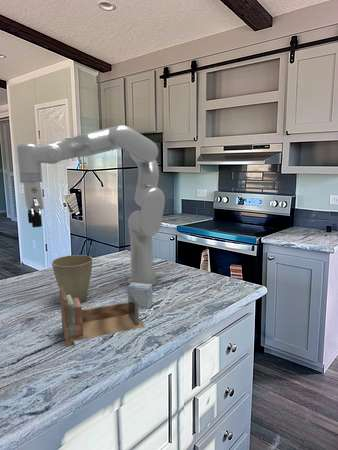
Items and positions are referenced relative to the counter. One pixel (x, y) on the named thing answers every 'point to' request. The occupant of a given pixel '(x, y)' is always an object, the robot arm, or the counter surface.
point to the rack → (93, 319)
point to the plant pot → (73, 274)
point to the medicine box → (141, 294)
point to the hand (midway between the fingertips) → (35, 224)
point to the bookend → (133, 310)
